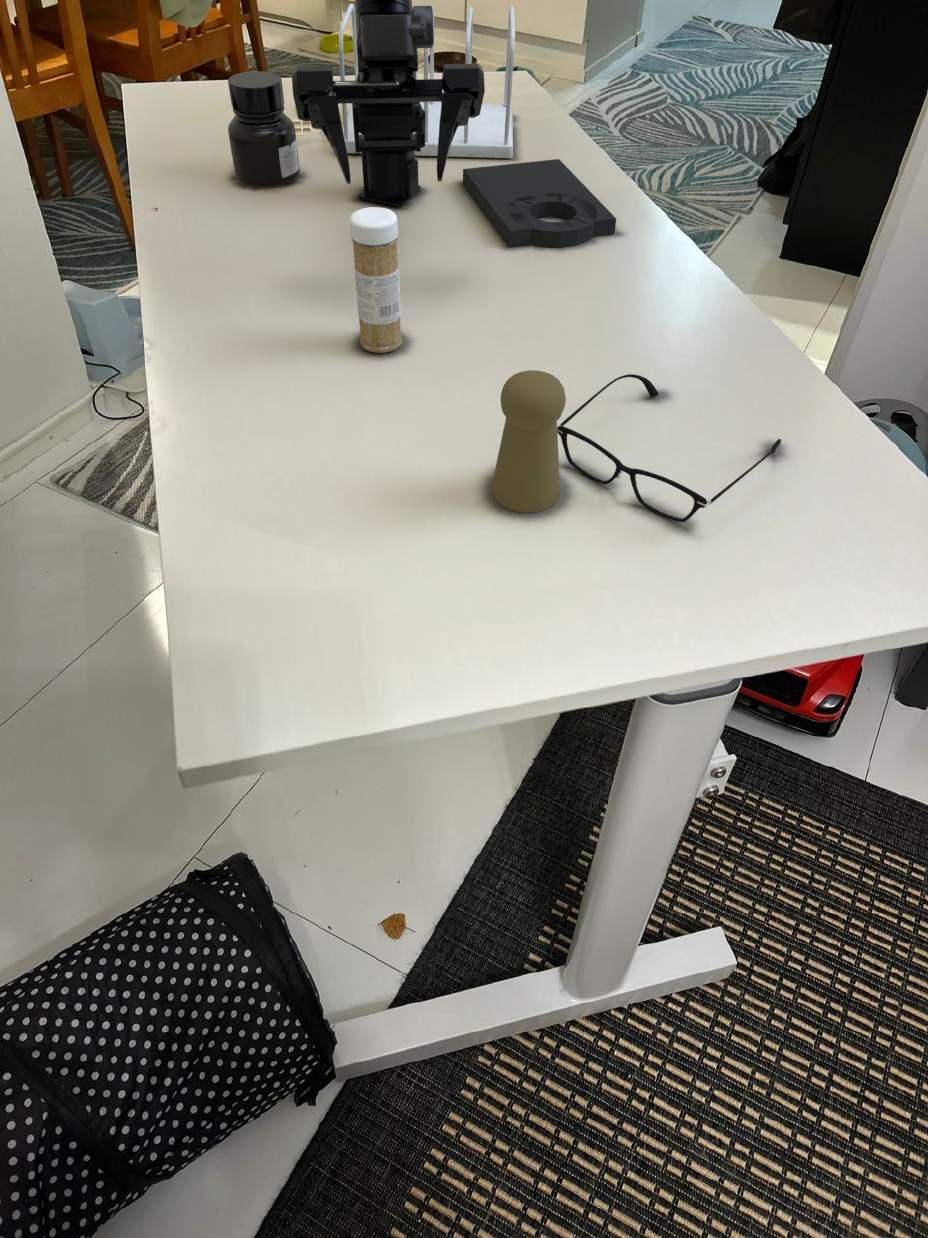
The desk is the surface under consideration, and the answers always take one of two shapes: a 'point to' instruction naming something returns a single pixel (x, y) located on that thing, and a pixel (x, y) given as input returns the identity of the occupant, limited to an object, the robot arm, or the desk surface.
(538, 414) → the olive game pawn
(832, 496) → the desk surface
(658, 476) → the eyeglasses
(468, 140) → the file sorter
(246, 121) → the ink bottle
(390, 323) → the sprinkles bottle
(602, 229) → the pad
